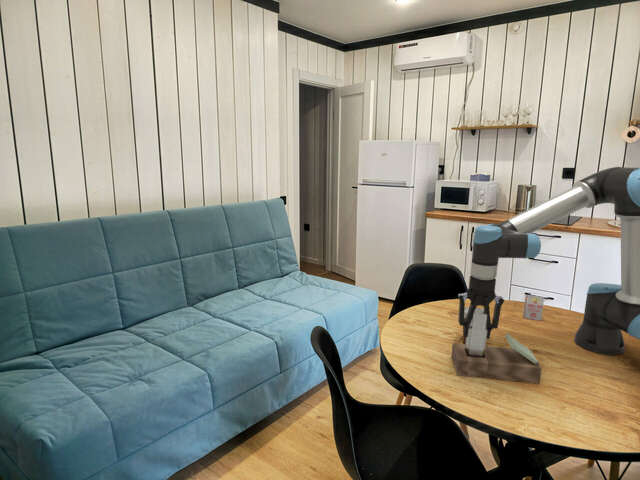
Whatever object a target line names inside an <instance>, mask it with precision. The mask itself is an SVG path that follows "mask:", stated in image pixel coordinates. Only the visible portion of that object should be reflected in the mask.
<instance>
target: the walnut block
mask: <svg viewBox="0 0 640 480" xmlns="http://www.w3.org/2000/svg"><path fill="white" fill-rule="evenodd" d="M451 360H452V364H453V367H454V371H455V375H456V376H462V377H463V376H464V377H472V378H473V377H474V378H483V379H491V380H492V379H493V380H501V381H511V382H519V383H530V384H538V385H540V384H541V377H542V371H543V370H542V367H541V365H540V364H539V365H536V364H535V363H533V362H532V361H530V360H529V359H528V358H526V357H525V356H523V355H522V354H521V353H519V352H518V351H516V350H515V349H513V348H512V347H501V346H500V347H499V346H490V345H489V346H488V345H486V347H485V350H483V356H473V355H469V353H468V351H467V347H466V343H460V342H459V343H457V342H453V343H452V348H451Z"/></svg>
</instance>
